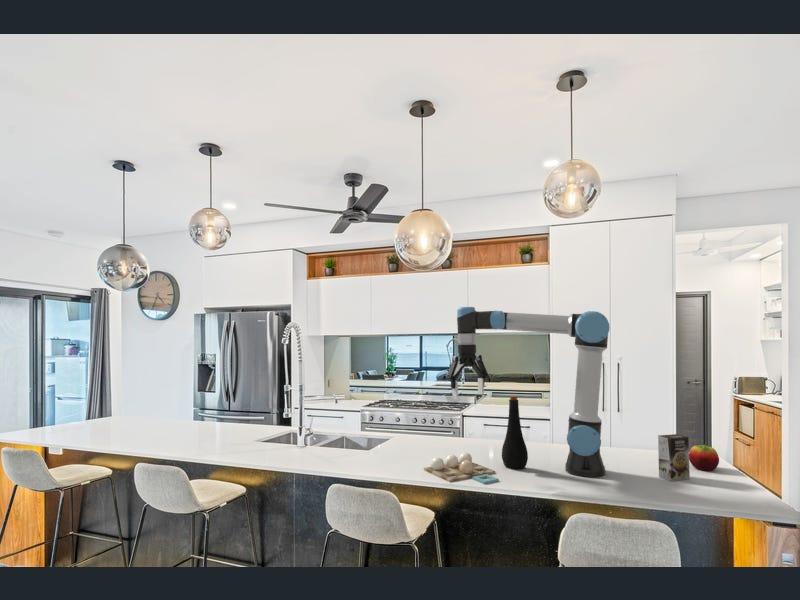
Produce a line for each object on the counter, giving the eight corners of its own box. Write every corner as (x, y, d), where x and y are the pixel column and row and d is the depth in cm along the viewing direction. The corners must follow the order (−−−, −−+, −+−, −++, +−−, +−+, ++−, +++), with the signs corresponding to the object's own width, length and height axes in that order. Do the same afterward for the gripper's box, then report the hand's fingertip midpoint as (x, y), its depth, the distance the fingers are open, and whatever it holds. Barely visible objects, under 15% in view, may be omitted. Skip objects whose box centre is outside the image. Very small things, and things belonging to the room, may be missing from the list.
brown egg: (476, 475, 193) (476, 461, 193) (465, 477, 190) (465, 463, 190) (468, 471, 197) (467, 457, 198) (456, 474, 195) (456, 459, 195)
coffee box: (671, 481, 187) (670, 438, 188) (658, 476, 194) (657, 434, 194) (690, 479, 190) (689, 436, 191) (677, 474, 196) (675, 433, 197)
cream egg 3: (475, 466, 205) (474, 453, 205) (464, 468, 202) (464, 454, 202) (466, 463, 209) (466, 450, 210) (456, 465, 207) (456, 452, 207)
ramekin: (498, 484, 185) (498, 478, 185) (484, 487, 182) (484, 481, 182) (486, 479, 191) (486, 474, 192) (472, 482, 188) (472, 476, 188)
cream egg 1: (447, 471, 198) (446, 457, 198) (435, 473, 195) (435, 459, 195) (439, 468, 203) (439, 454, 203) (428, 470, 200) (427, 456, 200)
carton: (467, 465, 211) (467, 460, 211) (495, 476, 195) (495, 470, 196) (423, 472, 200) (423, 467, 200) (449, 485, 185) (449, 479, 185)
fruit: (719, 467, 205) (718, 443, 206) (720, 474, 196) (719, 448, 197) (689, 464, 211) (688, 440, 211) (688, 470, 202) (687, 445, 202)
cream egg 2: (461, 469, 201) (461, 455, 202) (450, 471, 199) (450, 457, 199) (453, 465, 206) (453, 452, 206) (442, 467, 203) (442, 454, 204)
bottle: (496, 467, 208) (495, 395, 209) (518, 464, 211) (517, 393, 213) (511, 474, 198) (509, 398, 199) (533, 471, 201) (532, 397, 203)
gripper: (483, 342, 216) (485, 391, 215) (437, 344, 203) (438, 396, 202) (495, 343, 210) (497, 393, 209) (448, 345, 197) (449, 398, 196)
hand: (468, 395), depth 205 cm, fingers open, 13 cm apart
